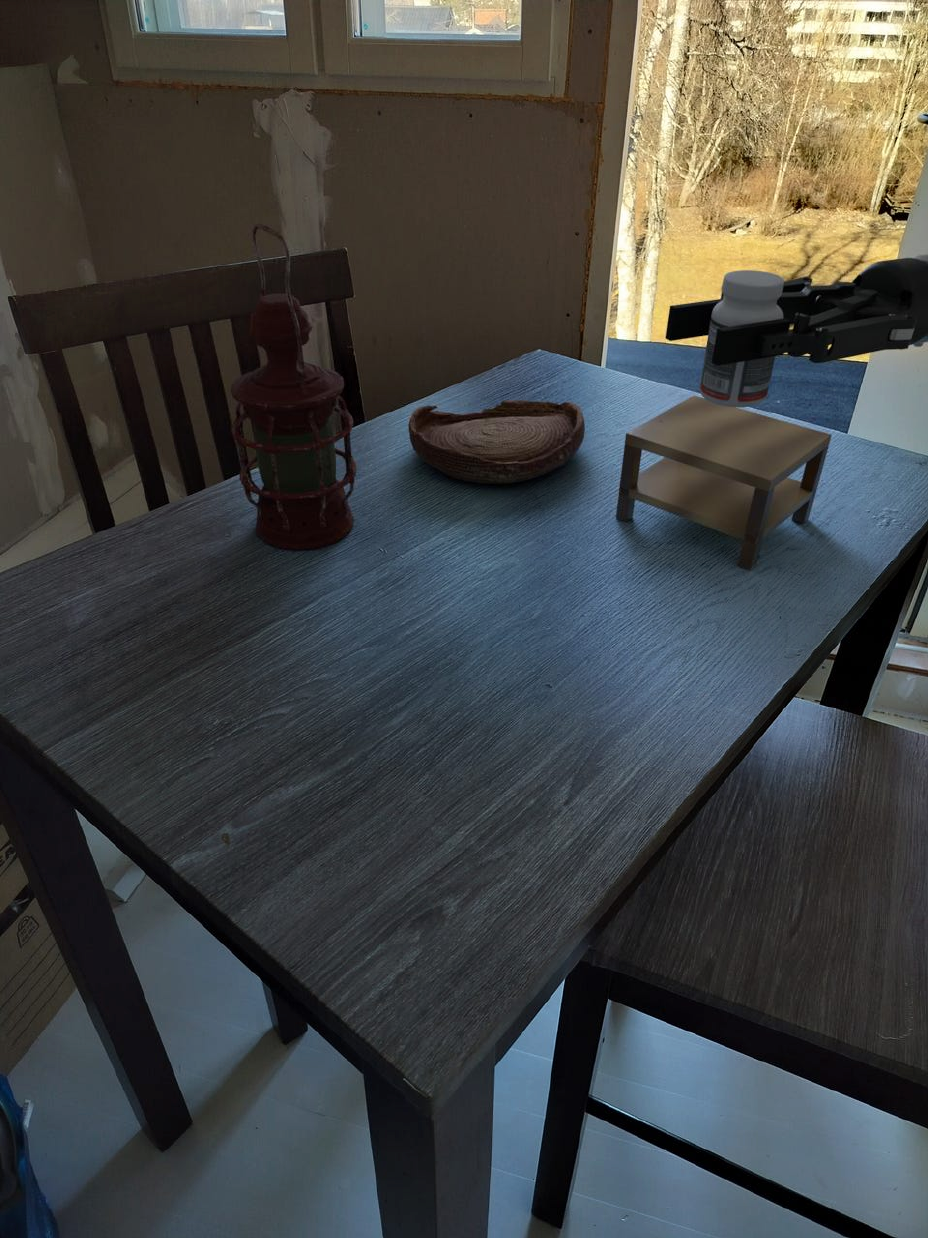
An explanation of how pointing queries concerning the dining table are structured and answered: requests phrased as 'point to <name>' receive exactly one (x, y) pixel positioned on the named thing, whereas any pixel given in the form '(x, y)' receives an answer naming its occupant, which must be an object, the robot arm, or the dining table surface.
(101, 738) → the dining table surface
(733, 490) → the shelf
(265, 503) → the lantern
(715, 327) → the pill bottle
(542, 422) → the basket
